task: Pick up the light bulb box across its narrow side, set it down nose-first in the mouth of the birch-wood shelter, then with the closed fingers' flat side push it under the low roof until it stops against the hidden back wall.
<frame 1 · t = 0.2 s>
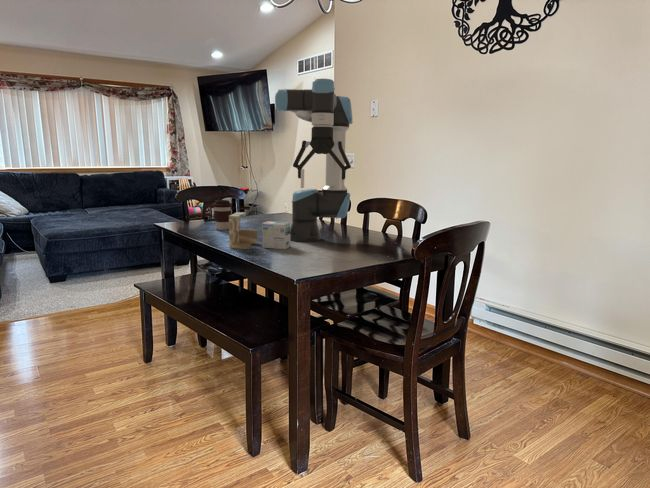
hand: (321, 188, 160), 28 cm above the table, fingers open, 13 cm apart
light bulb box: (276, 247, 195), on the table
coffee cup: (222, 229, 238), on the table
shelter: (245, 245, 197), on the table
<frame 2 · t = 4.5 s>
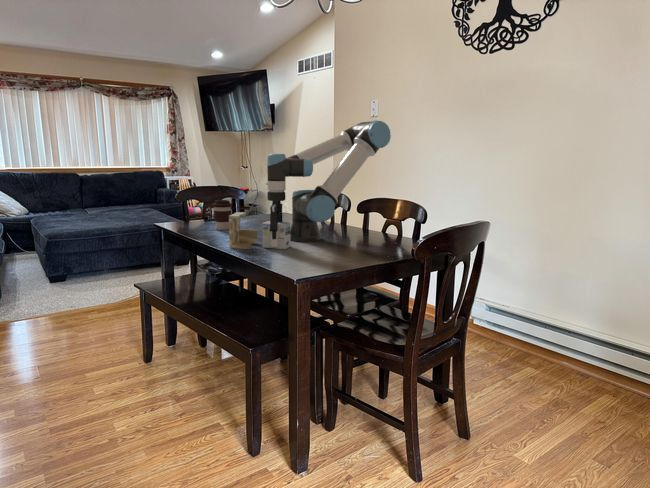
hand: (276, 244, 195), 1 cm above the table, fingers closed on light bulb box, 7 cm apart
light bulb box: (276, 247, 195), on the table, touching gripper
everything else where it was.
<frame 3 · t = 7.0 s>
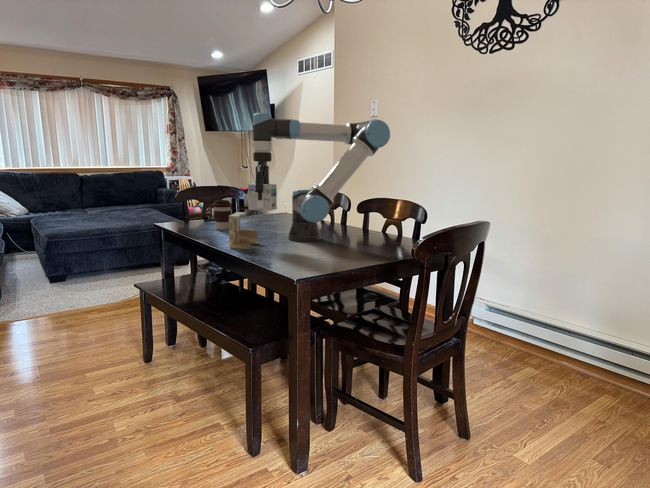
hand: (262, 206, 193), 17 cm above the table, fingers closed on light bulb box, 7 cm apart
light bulb box: (262, 210, 193), point 16 cm above the table, touching gripper
everything else where it was.
when the fingers open (3 cm above the table, at t = 9.9 s): light bulb box drops 1 cm, on the table.
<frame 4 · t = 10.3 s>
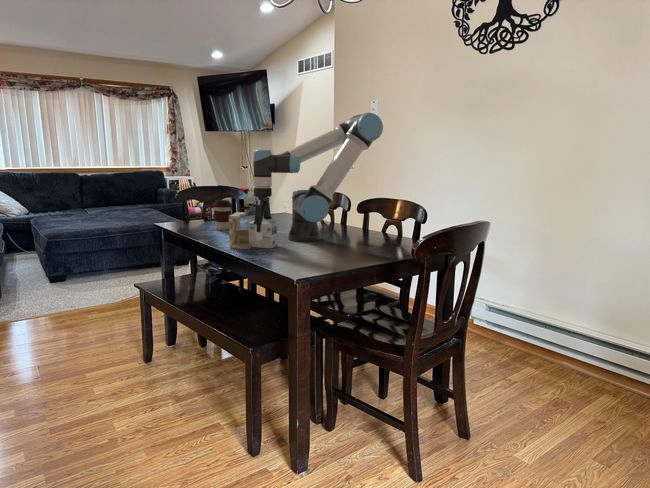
hand: (263, 236, 195), 4 cm above the table, fingers open, 13 cm apart
light bulb box: (263, 247, 196), on the table
everything else where it was.
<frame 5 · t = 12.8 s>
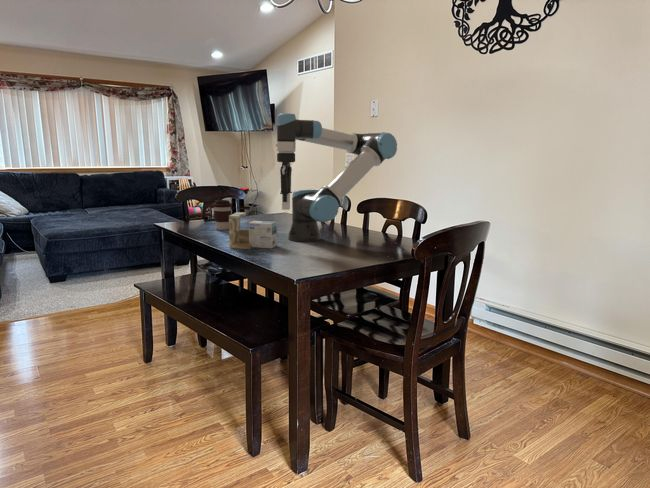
hand: (286, 209, 192), 16 cm above the table, fingers open, 2 cm apart
nothing on the table moved.
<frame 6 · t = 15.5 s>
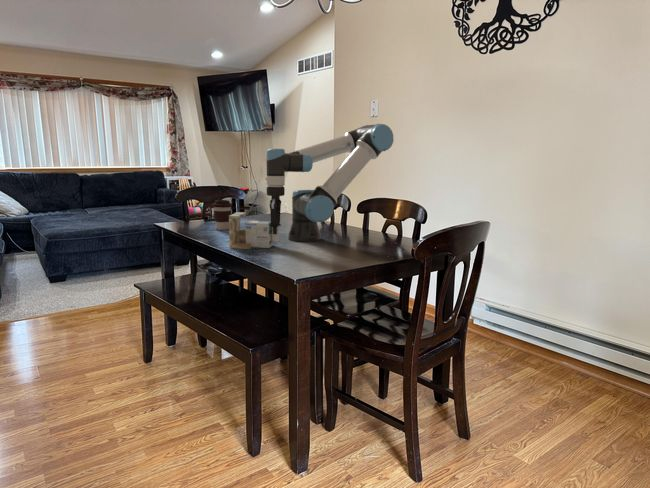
hand: (275, 241, 195), 2 cm above the table, fingers closed
light bulb box: (259, 246, 196), on the table, touching gripper
everything else where it was.
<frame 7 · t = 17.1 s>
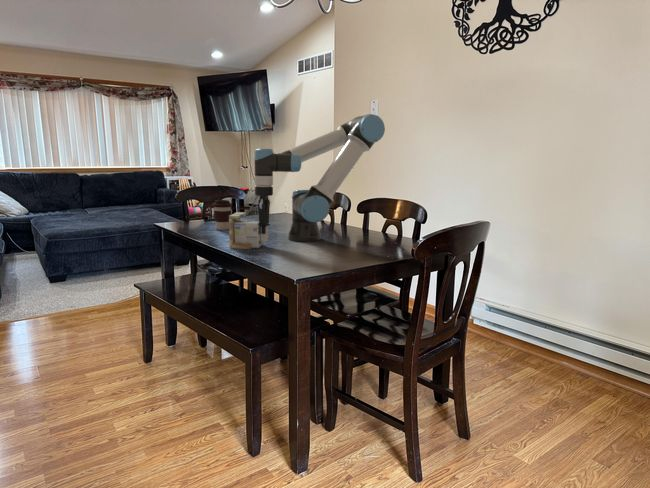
hand: (264, 240, 196), 2 cm above the table, fingers closed
light bulb box: (248, 246, 196), on the table
everything else where it was.
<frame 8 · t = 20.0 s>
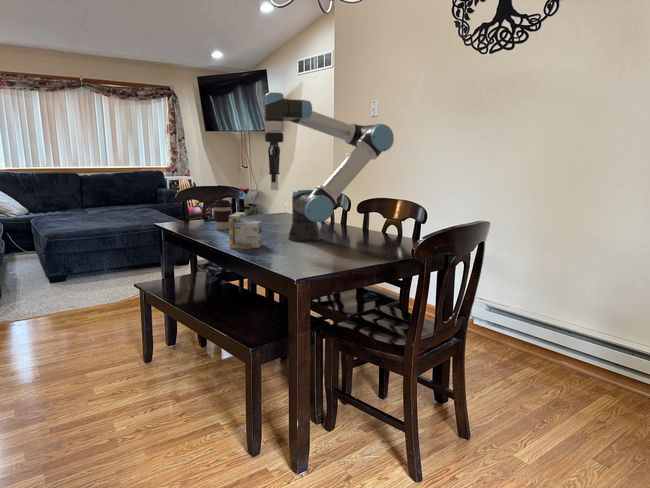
hand: (274, 190, 191), 24 cm above the table, fingers closed
nothing on the table moved.
at the end: light bulb box 0.7 cm from the target spot, on the table; light bulb box tilted 0°; the gripper is holding nothing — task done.
